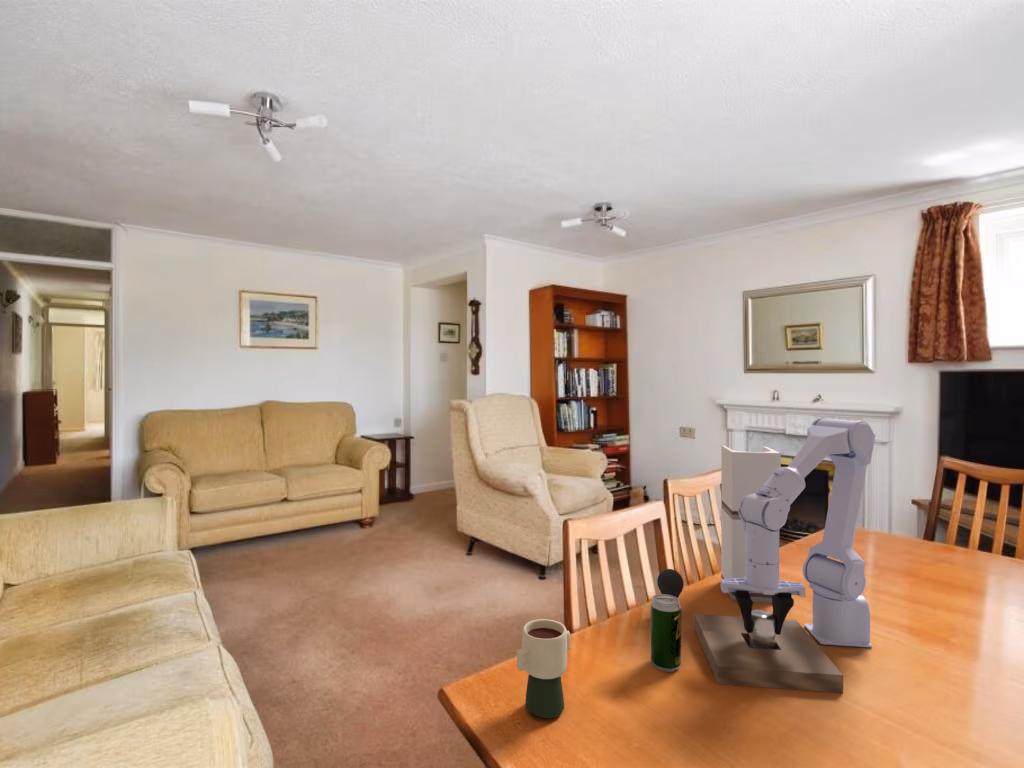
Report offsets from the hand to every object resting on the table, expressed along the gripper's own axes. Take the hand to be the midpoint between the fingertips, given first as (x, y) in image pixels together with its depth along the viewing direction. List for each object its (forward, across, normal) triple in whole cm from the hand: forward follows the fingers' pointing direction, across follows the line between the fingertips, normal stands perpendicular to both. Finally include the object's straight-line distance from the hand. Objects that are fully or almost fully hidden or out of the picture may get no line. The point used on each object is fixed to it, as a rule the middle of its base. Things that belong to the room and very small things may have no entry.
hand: (762, 631), depth 99 cm
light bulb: (+5, -14, +16) cm, 22 cm away
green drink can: (+5, -18, -5) cm, 20 cm away
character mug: (+5, -39, -21) cm, 45 cm away
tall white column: (+5, +7, +31) cm, 32 cm away
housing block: (+5, 0, 0) cm, 5 cm away
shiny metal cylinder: (+4, 0, 0) cm, 4 cm away
